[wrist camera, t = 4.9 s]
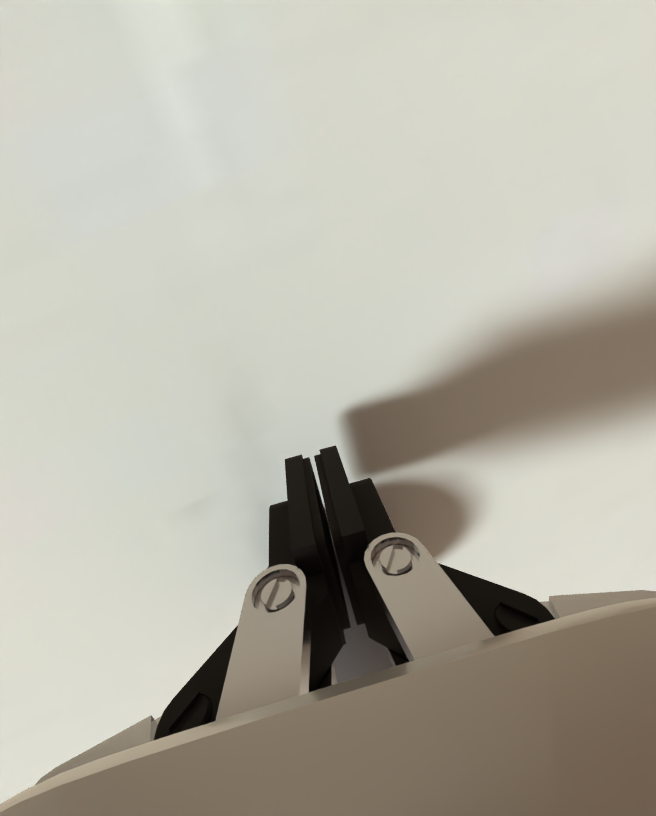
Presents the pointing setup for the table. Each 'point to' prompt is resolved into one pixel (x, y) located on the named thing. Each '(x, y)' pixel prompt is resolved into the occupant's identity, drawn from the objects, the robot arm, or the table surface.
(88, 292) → the table surface
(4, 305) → the table surface
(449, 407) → the table surface
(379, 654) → the ball
